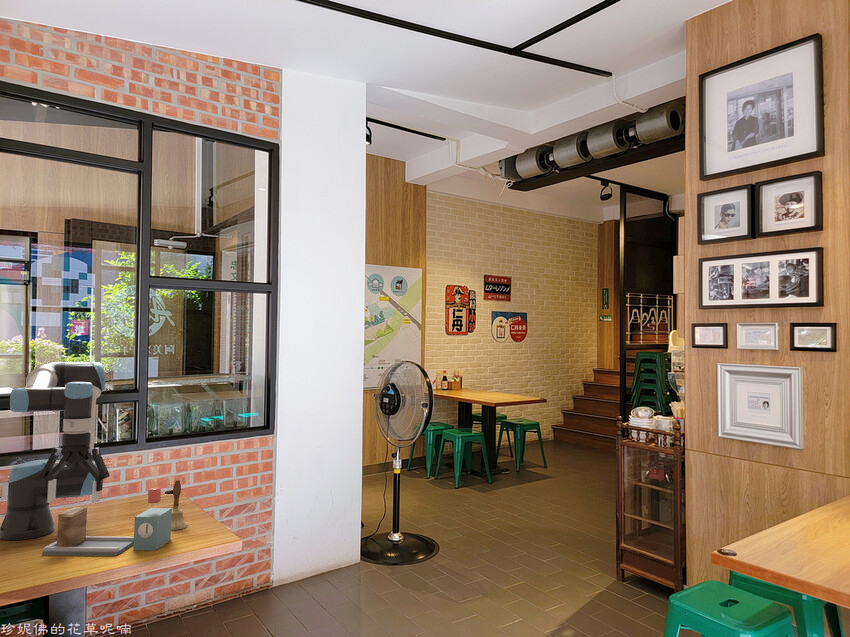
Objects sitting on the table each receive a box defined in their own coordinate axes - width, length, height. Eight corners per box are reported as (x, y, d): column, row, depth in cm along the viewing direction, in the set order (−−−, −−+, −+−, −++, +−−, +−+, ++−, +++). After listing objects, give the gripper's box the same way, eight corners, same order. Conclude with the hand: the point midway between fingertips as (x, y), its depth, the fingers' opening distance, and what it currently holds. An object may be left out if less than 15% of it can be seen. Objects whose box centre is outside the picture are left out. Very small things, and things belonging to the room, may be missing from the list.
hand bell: (179, 522, 206) (180, 476, 207) (192, 526, 201) (194, 479, 202) (156, 527, 199) (158, 480, 200) (170, 532, 195) (172, 484, 196)
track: (42, 555, 171) (42, 548, 171) (66, 541, 183) (67, 535, 183) (116, 555, 171) (116, 548, 172) (136, 542, 183) (136, 536, 184)
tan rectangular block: (56, 548, 173) (58, 514, 174) (72, 539, 181) (74, 507, 182) (70, 548, 173) (71, 514, 174) (85, 539, 181) (87, 507, 182)
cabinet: (132, 550, 176) (133, 517, 176) (148, 539, 186) (150, 508, 187) (155, 551, 176) (156, 517, 176) (170, 539, 187) (171, 508, 187)
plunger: (145, 503, 180) (146, 490, 181) (151, 500, 184) (151, 487, 184) (157, 503, 181) (157, 490, 181) (162, 500, 184) (162, 487, 184)
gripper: (28, 433, 176) (24, 504, 174) (110, 433, 176) (107, 505, 174) (44, 430, 183) (40, 498, 182) (123, 430, 183) (120, 499, 182)
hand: (73, 501), depth 178 cm, fingers open, 13 cm apart
